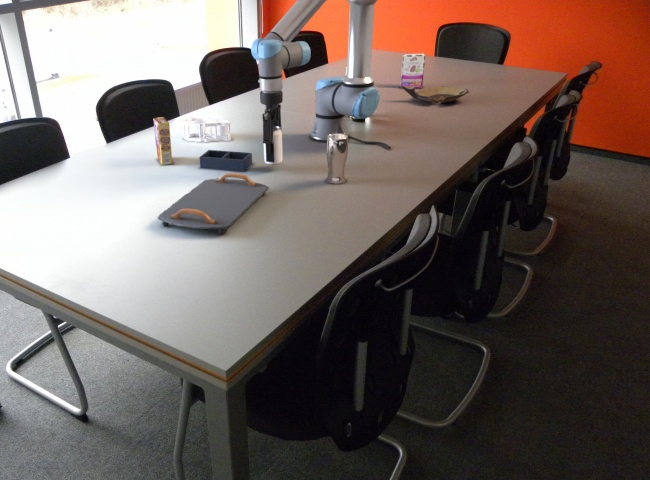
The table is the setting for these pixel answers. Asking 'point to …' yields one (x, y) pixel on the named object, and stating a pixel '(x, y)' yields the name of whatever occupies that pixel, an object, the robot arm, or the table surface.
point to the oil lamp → (437, 93)
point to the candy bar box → (412, 70)
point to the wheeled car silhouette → (201, 127)
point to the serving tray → (214, 203)
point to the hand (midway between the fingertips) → (273, 158)
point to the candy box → (163, 140)
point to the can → (275, 147)
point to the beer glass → (336, 157)
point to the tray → (226, 160)
